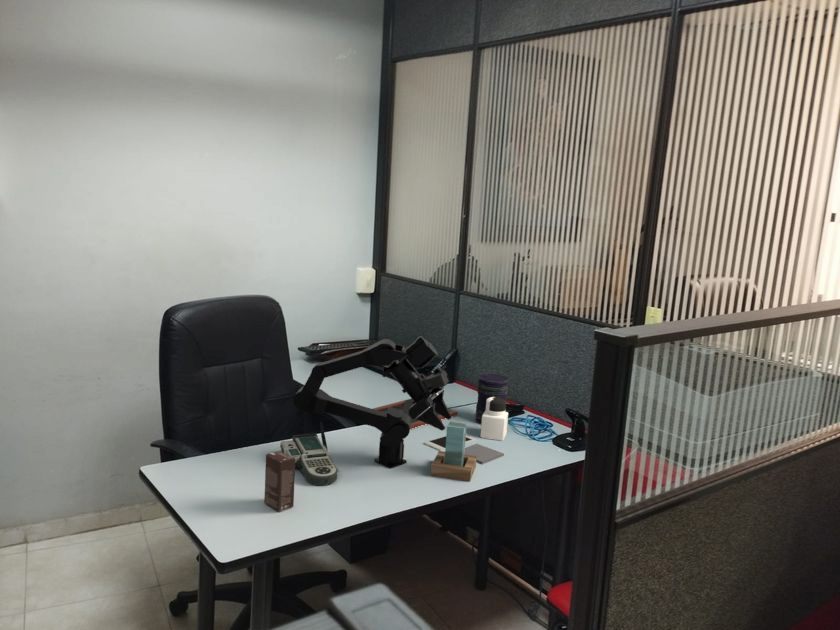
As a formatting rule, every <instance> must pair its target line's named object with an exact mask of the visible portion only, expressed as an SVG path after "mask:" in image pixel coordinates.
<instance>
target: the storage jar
mask: <svg viewBox="0 0 840 630" xmlns="http://www.w3.org/2000/svg"><path fill="white" fill-rule="evenodd" d="M477 381H478V382H477V390H476V392H477V403H476V406H475V420H476V421H475V422H476V423H477V424H478V423H479V425H481V423H482V415H483V414H484V412H485V410H486V401H487V399H488V398H490V397H500V398H502V399H504V400H505V401H506V402H507V396H508V390H509V387H508V386H509V383H508V382H509V378H508V377H507V376H505V375H501V374H495V373H484V374H480V375H478V380H477ZM506 410H507V409H506ZM506 410H505V412H507V411H506Z"/></svg>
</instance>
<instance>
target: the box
mask: <svg viewBox="0 0 840 630" xmlns="http://www.w3.org/2000/svg"><path fill="white" fill-rule="evenodd" d="M264 471H265V475H264V499H263V500H264V501H263V502H264V504H265V505H267V506H268V507H270V508H272V509H274V510H275V511H277V512H279V513H280V512H284V511H287V510H289V509H292V508H293V507H294V501H295V500H294V498H295V477H296V476H295V475H296V474H295V473H296V467H295V458H294V457H292V456H290V455H288V454H286V453H284V452H282V451H281V450H278V451H274V452H270V453H266V454H265V470H264Z"/></svg>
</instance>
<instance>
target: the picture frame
mask: <svg viewBox="0 0 840 630" xmlns="http://www.w3.org/2000/svg"><path fill="white" fill-rule="evenodd" d="M412 402H413V399H412V398H411V397H410V398H408V399H404V400H401V401H397V402H393V403H389V404H385V405H382V406H377V407H374V408H372V409H374V410H377V411H388V408H389V407H393V408H395V409H397V410H403V412H404V413H406V414H407V415H408V416H409V417H410V419H411V426H410V429H411V430H413V429H412V428H414V429H416V428H415V427H417V428H419V427H418V426H421V425H424V426H426V425H425V424H427V423H425V422H422V421H420V420H416V418H417V417H418V416H417V417H416V418H415V419H412V417H411V416H410V415H409V409H410V407H411V406H412V405H413V403H412ZM447 409H448V411H449V413H450V415H451V418H452V416H453V417H455V416H459V415H458V414H459V411H457V410H454V409H451V408H448V407H447ZM435 412H436V411H435ZM436 414H437V415H438V417H439V418H440V420H441V419H443V420H446V419H445V417H443V416H442V415H440V414H439V413H437V412H436ZM441 421H442V420H441ZM427 425H428V424H427ZM421 427H422V426H421Z"/></svg>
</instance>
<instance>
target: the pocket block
mask: <svg viewBox="0 0 840 630" xmlns="http://www.w3.org/2000/svg"><path fill="white" fill-rule="evenodd" d="M476 460H477V456H472V455H465V454H464V467H463V466H456V465H449V464H445V451H444V450H443V451H439V450H438V452H437V454H436V456H435V457H434V459H433V461H432V463H431V464H430V477H436V476H437V478H443V479H450V480H456V481H457V480H458V481H462V482H463V481H464V482H471V481H472V477H473V475H474V472H475V469H476V467H477V462H476Z"/></svg>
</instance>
